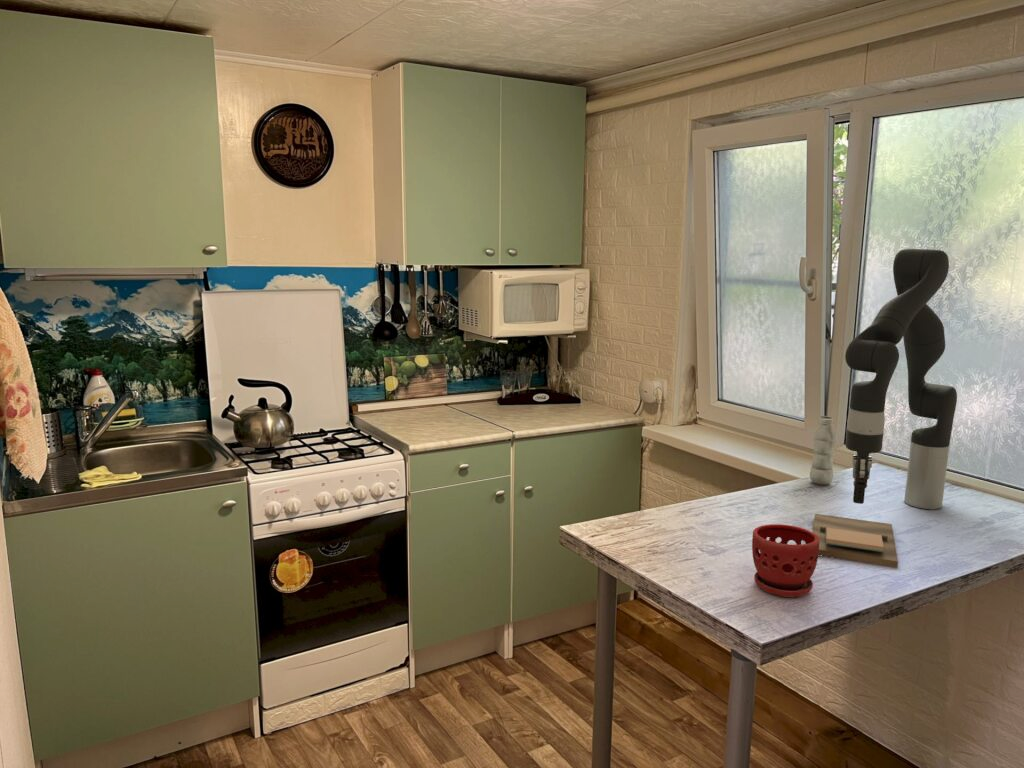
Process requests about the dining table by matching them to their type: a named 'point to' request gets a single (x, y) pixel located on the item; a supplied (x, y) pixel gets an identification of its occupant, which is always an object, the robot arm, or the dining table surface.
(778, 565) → the plant pot
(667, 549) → the dining table surface
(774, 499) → the dining table surface
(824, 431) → the plastic bottle
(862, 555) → the board
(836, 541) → the tile
